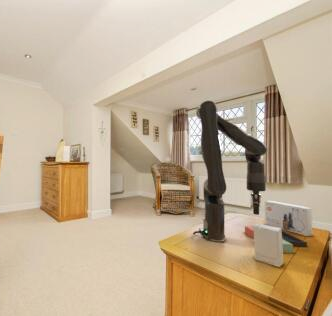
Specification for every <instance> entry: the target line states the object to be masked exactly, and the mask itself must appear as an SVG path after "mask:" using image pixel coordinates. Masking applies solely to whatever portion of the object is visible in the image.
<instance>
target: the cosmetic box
mask: <svg viewBox="0 0 332 316" xmlns="http://www.w3.org/2000/svg"><path fill="white" fill-rule="evenodd" d="M252 227H253V229H254V238H253V245H254V260H256V261H258V262H262V263H265V264H268V265H270V266H275V267H277V268H280V267H281V266H282V265H283V264H284V252H283V246H282V231H283V229H281V228H278V227H273V226H270V225H266V224H261V223H256V224H255V225H253V226H252Z"/></svg>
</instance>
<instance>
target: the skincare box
mask: <svg viewBox="0 0 332 316" xmlns="http://www.w3.org/2000/svg"><path fill="white" fill-rule="evenodd" d="M264 225H267V226H272V227H278V228H281V230H282V231H287V232H290V233H294V234H298V235H301V236H305V237H312V236H313V208H312V207H307V206H302V205H297V204H291V203H286V202H281V201H274V200H265V201H264Z"/></svg>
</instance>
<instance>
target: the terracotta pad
mask: <svg viewBox="0 0 332 316" xmlns="http://www.w3.org/2000/svg"><path fill="white" fill-rule="evenodd" d="M244 234H246V235H248V236H249V237H251V238H252V239H254V229H253V226H251V225H250V226H248V225H247V226H246V225H245V226H244Z"/></svg>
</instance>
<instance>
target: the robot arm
mask: <svg viewBox="0 0 332 316" xmlns="http://www.w3.org/2000/svg"><path fill="white" fill-rule="evenodd" d="M195 115H196V117H197V118H198V119H199V120H200V123H201V133H200V134H201V136H200V151H201V157H202V160H203V163H204V166H205V168H206V171H207V172H206V173H207V179H205V181H204V182H203V202H204V218H203V221H202V223H203V228H202V227H201V228H198V230H197V231H194V232H193V233H192V235H194V236H195V235H196V234H199V235H201V236H203V237H204V238H205V239H206V240H207V241H212V242H217V243H222V242H225V240H226V234H225V233H226V232H225V228H226V227H225V226H226V225H225V222H226V221H225V207H226V206H225V202H224V200H223V199H224V198H223V195H225V194H226V192H227V183H226V178H225V175H224V169H223V157H222V156H223V155H222V146H221V140H220V139H221V138H220V133H222V134H223V135H224V136H226V138H228V139H229V140H230V141H231V142H232V143H234V144H236V145H237V146H239V147H242V148H244V157H245V161H246V191H249V192H252V193H251V194H250V198H251V203H252V209H253V211H252V212H253V213H252V214H253V215H256V216H257V215H260V207H261V205H260V204H261V203H262V201H261V199H262V193H260V192H265V191H267V190H266V188H267V187H266V182H267V181H266V168H265V162H264V161H263V160H262V156H264V155H266V154H267V152H268V148H267V146H266V144H265V143H264V142H263V141H261V140H259V139H258V138H256V137H253V136H251V135H250V134H248V133H247V132H246V131H245V130H243V129H242V128H240V127H239V126H237V124H235V123H232V122H230V121H228V120H226V119H225V118H223V117H221V116H220V115H219V114H218V106H217V104H216V102H214V101H212V100H205V101H203V102H201V103H200V104H199V106H198V107H197V108H196V111H195Z"/></svg>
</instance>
